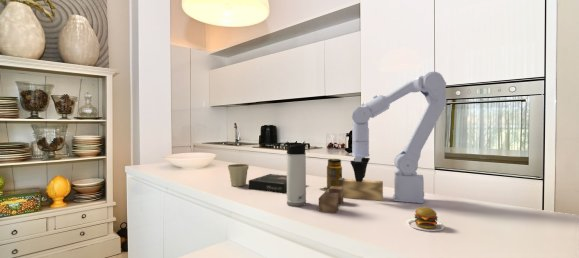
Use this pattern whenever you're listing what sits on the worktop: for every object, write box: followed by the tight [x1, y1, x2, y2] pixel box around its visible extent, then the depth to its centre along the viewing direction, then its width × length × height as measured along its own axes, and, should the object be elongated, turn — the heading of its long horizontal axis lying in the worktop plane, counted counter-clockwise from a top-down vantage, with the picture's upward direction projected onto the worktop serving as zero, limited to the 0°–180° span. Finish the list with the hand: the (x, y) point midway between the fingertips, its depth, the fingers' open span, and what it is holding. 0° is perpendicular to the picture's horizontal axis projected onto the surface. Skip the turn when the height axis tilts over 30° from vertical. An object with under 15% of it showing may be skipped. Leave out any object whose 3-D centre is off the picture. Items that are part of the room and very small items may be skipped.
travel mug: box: [286, 142, 307, 207], centre depth 98 cm, size 6×7×20 cm
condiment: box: [319, 158, 343, 192], centre depth 120 cm, size 7×8×12 cm
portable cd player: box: [248, 173, 287, 194], centre depth 125 cm, size 16×17×4 cm
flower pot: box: [226, 163, 250, 188], centre depth 128 cm, size 9×9×9 cm
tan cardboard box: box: [318, 186, 344, 214], centre depth 96 cm, size 5×14×5 cm, turn 160°
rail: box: [339, 177, 384, 201], centre depth 106 cm, size 15×4×6 cm, turn 70°
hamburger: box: [406, 206, 446, 232], centre depth 77 cm, size 12×12×6 cm
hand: (360, 179), depth 106 cm, fingers open, 7 cm apart
